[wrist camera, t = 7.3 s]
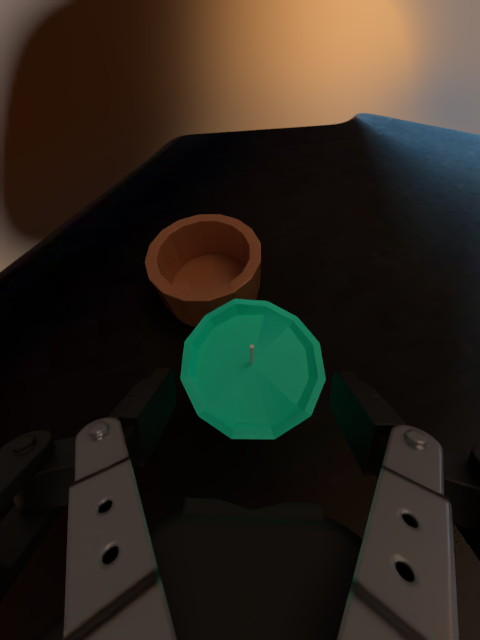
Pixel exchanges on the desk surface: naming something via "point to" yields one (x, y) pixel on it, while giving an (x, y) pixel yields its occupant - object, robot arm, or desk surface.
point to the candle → (252, 370)
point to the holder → (204, 265)
